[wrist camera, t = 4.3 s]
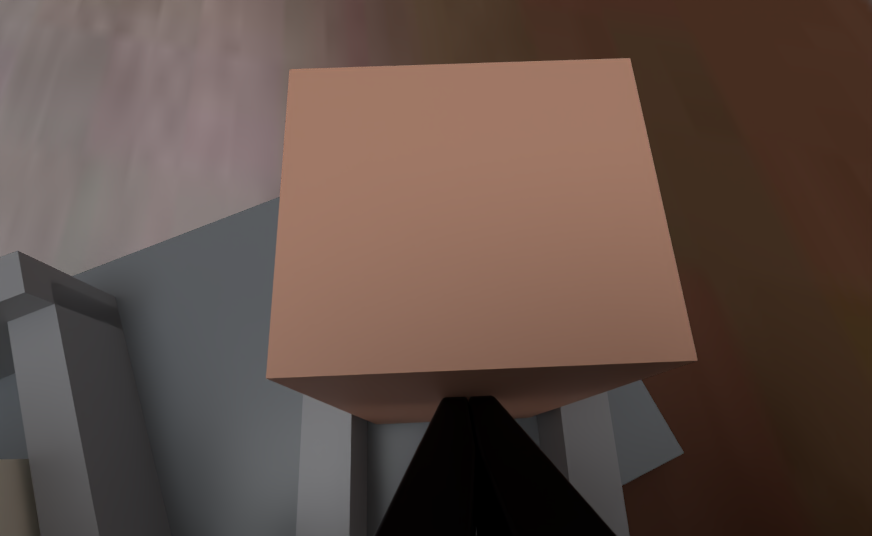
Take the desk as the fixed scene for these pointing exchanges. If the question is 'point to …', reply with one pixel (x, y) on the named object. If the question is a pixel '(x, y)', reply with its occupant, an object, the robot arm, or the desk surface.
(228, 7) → the desk surface
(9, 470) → the cream box
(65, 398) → the grey three-slot stand
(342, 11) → the desk surface
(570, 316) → the terracotta box
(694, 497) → the desk surface
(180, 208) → the desk surface
